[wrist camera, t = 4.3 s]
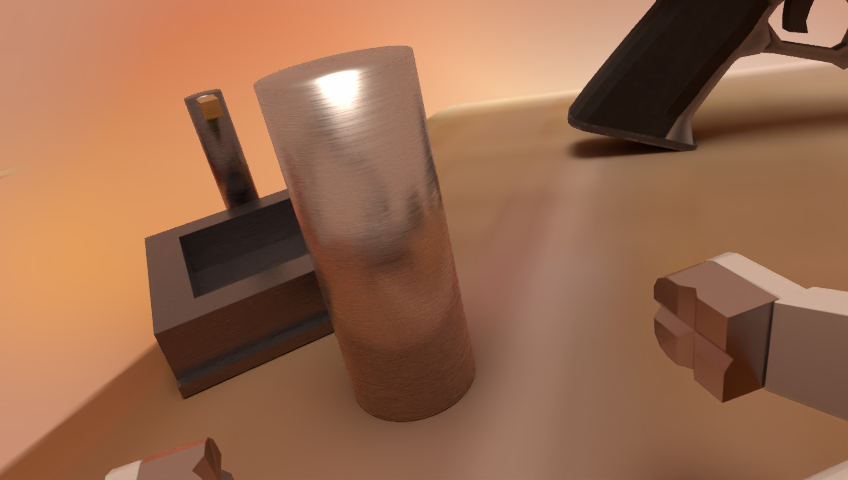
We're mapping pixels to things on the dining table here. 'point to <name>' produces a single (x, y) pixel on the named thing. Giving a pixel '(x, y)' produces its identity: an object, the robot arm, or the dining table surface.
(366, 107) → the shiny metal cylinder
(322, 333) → the keeper
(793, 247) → the dining table surface
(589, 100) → the firearm
